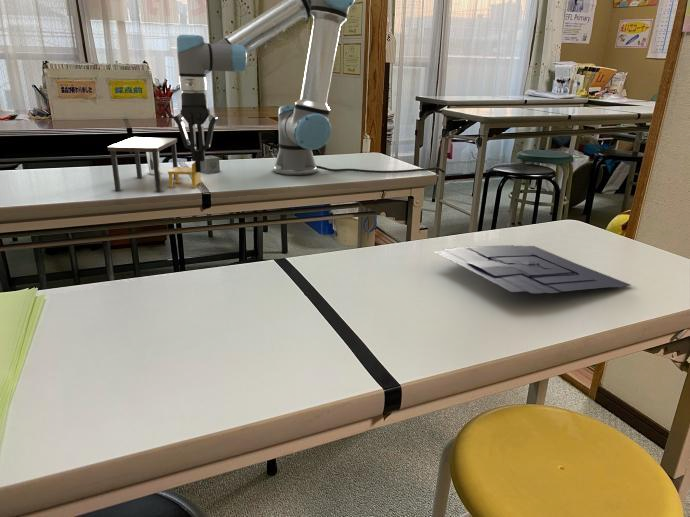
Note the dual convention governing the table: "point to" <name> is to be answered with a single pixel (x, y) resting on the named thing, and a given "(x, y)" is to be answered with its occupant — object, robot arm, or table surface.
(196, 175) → the chair
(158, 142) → the little table
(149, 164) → the milkshake
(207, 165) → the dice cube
